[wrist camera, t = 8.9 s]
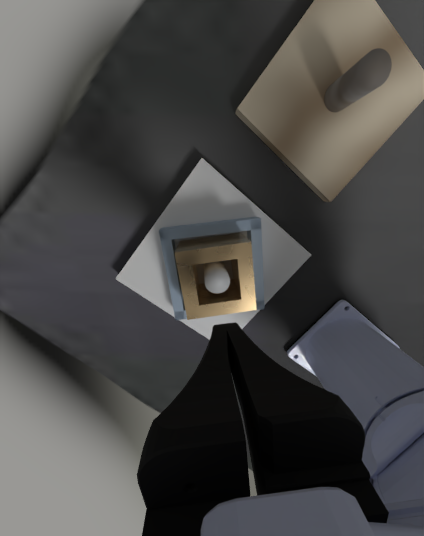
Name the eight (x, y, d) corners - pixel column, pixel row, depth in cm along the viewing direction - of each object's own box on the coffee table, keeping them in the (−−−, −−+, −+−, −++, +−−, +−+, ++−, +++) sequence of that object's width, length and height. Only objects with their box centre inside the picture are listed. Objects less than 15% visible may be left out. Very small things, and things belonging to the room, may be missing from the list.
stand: (421, 93, 16) (500, 55, 12) (323, 201, 18) (361, 202, 14) (335, -27, 14) (395, -126, 10) (234, 113, 16) (247, 82, 12)
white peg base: (306, 252, 20) (335, 267, 15) (222, 342, 22) (227, 376, 18) (201, 159, 17) (202, 146, 13) (119, 274, 19) (96, 296, 15)
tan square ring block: (240, 232, 18) (251, 241, 14) (245, 288, 19) (256, 309, 15) (179, 240, 18) (174, 252, 14) (189, 295, 19) (187, 320, 15)
